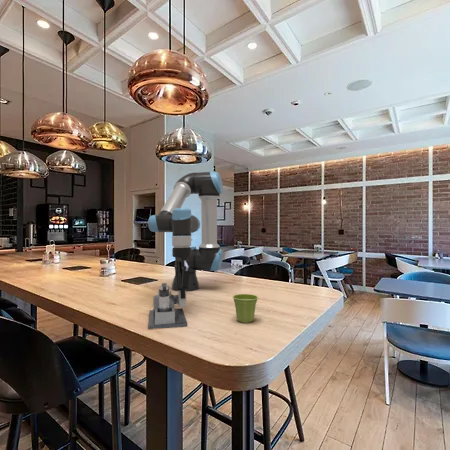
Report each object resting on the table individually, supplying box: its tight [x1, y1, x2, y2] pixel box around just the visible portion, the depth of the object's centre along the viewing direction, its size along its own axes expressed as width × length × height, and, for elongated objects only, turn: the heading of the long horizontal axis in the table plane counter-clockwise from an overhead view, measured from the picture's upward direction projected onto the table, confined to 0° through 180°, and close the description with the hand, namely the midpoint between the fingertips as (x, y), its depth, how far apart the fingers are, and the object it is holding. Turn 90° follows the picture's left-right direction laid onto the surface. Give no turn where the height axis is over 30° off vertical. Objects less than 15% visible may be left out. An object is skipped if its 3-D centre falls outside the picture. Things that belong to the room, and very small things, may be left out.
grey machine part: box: [152, 282, 178, 314], centre depth 111 cm, size 15×8×11 cm, turn 141°
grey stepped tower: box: [158, 282, 170, 312], centre depth 98 cm, size 4×6×13 cm, turn 16°
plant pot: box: [232, 293, 259, 324], centre depth 103 cm, size 9×9×9 cm
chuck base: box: [147, 307, 188, 330], centre depth 104 cm, size 13×19×5 cm
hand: (182, 306), depth 111 cm, fingers closed
